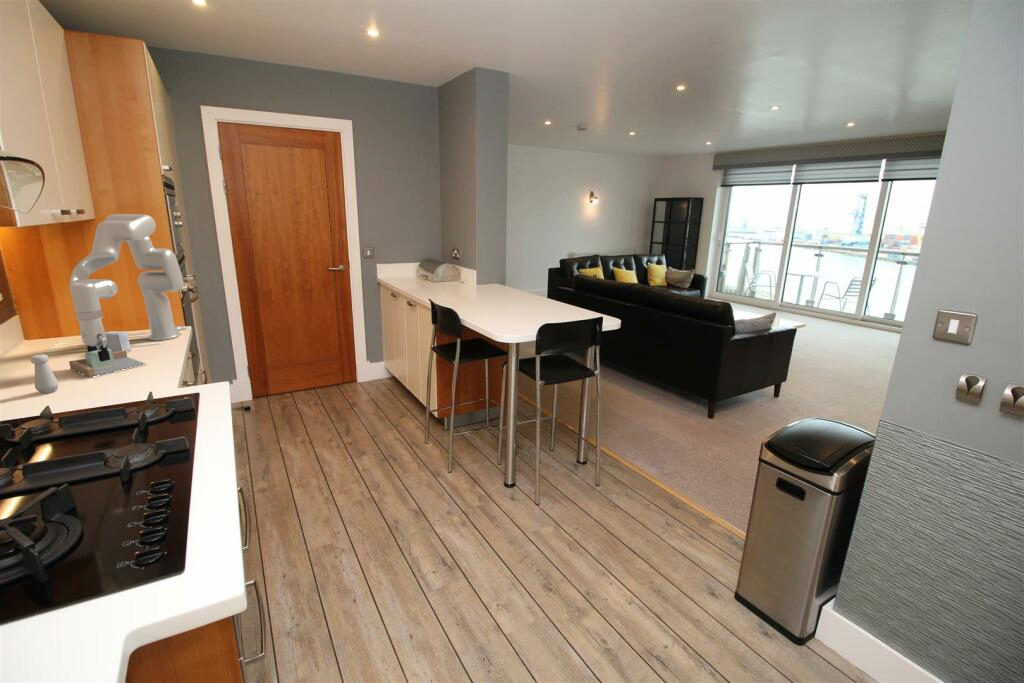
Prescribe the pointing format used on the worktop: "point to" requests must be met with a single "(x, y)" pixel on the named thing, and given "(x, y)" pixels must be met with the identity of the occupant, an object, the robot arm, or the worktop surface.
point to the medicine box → (117, 341)
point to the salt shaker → (44, 375)
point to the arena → (120, 363)
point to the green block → (95, 362)
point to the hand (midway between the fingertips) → (99, 358)
